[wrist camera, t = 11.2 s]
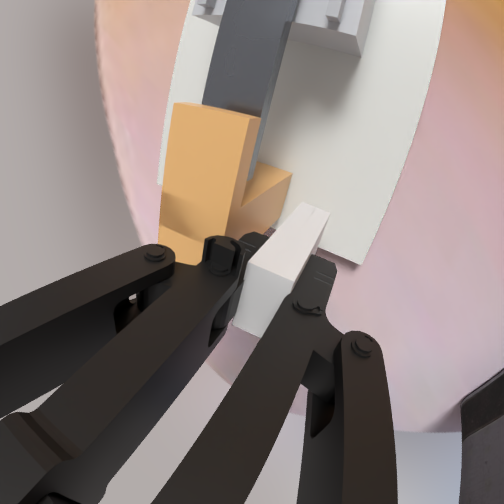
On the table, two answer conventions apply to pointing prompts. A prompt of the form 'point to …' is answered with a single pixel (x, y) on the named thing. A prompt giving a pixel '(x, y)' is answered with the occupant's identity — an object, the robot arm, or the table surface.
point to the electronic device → (483, 444)
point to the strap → (249, 59)
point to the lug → (215, 180)
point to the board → (332, 104)
